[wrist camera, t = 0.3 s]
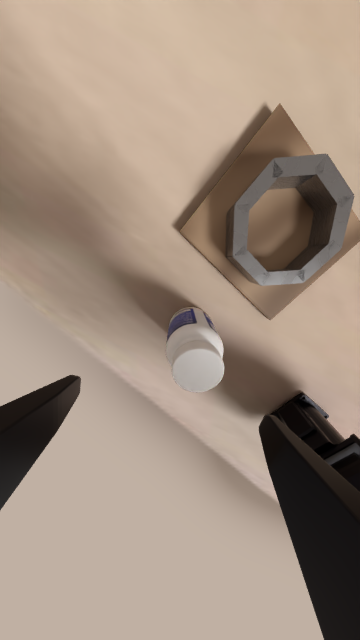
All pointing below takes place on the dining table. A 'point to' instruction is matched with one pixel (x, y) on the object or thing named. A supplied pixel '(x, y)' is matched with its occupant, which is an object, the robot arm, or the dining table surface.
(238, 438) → the dining table surface
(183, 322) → the pill bottle
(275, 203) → the tan board
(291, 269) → the ring collar
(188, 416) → the dining table surface
